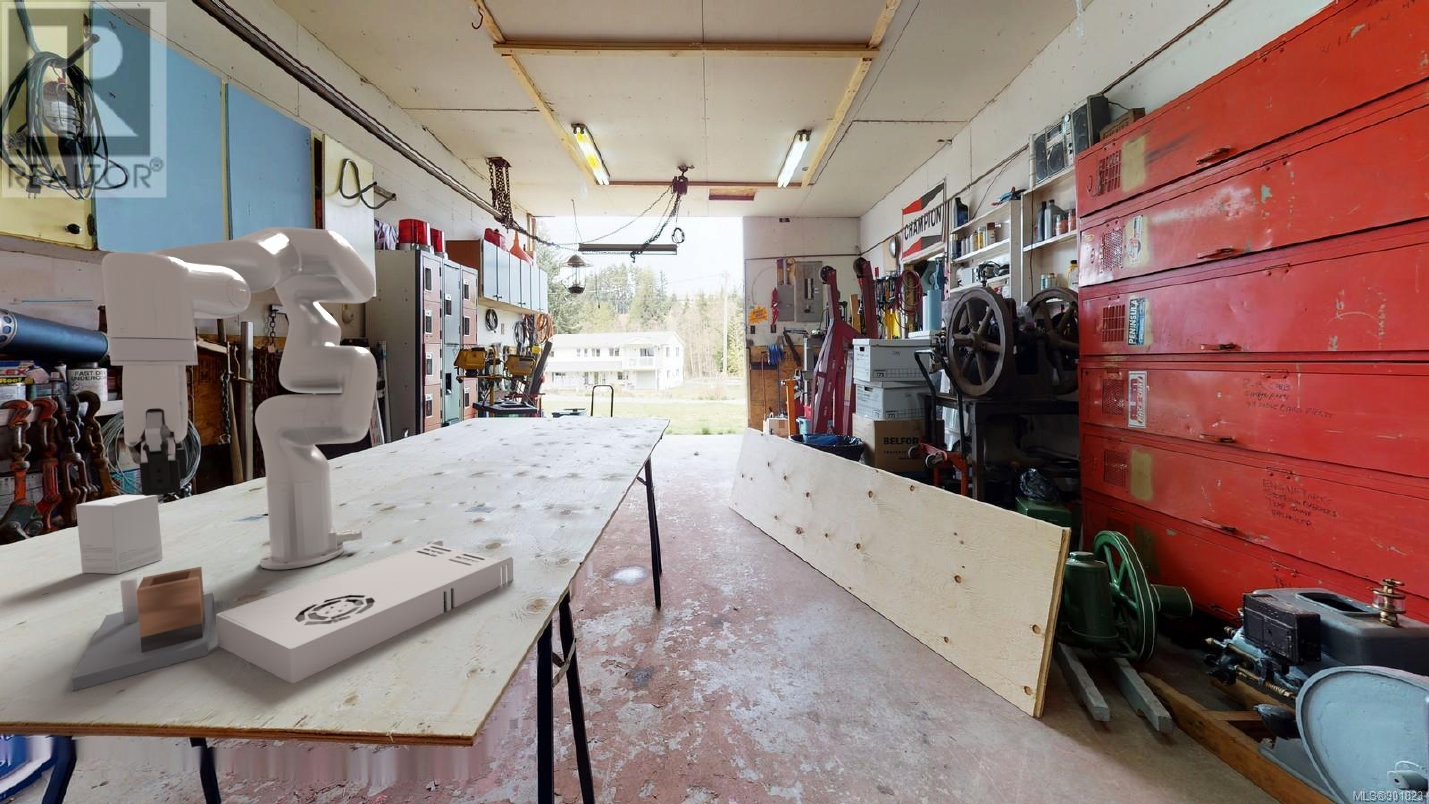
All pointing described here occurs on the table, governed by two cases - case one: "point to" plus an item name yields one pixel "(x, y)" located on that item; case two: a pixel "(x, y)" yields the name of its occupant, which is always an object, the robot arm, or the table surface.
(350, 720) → the table surface
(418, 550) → the power supply unit
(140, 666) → the pin board
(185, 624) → the sleeve
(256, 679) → the table surface
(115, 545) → the supplement box
